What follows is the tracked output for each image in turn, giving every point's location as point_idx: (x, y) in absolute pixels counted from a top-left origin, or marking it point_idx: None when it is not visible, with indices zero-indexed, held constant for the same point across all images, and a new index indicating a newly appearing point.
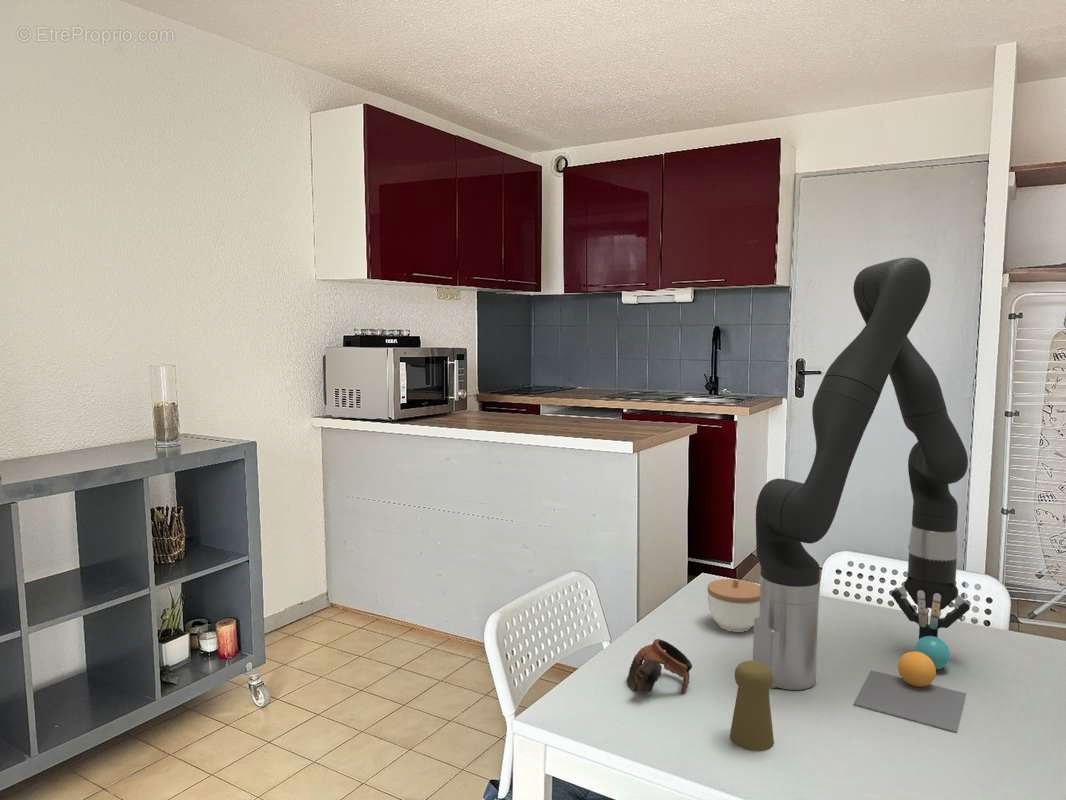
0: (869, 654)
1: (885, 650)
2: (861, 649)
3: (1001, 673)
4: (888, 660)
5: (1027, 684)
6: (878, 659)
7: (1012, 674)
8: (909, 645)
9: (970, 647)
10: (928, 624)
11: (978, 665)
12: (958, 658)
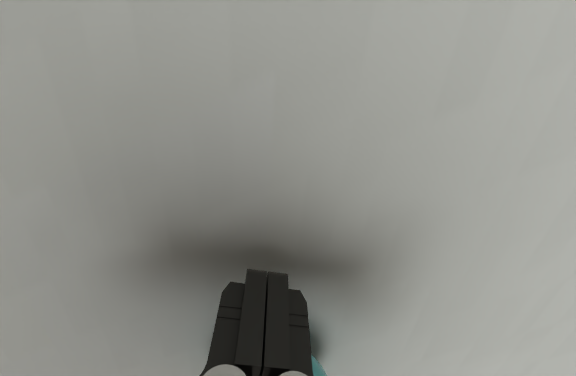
0: (67, 331)
1: (106, 282)
2: (24, 306)
3: (503, 308)
4: (138, 347)
5: (548, 346)
6: (107, 352)
7: (540, 302)
8: (188, 196)
9: (495, 92)
10: (254, 369)
11: (445, 279)
12: (386, 248)
